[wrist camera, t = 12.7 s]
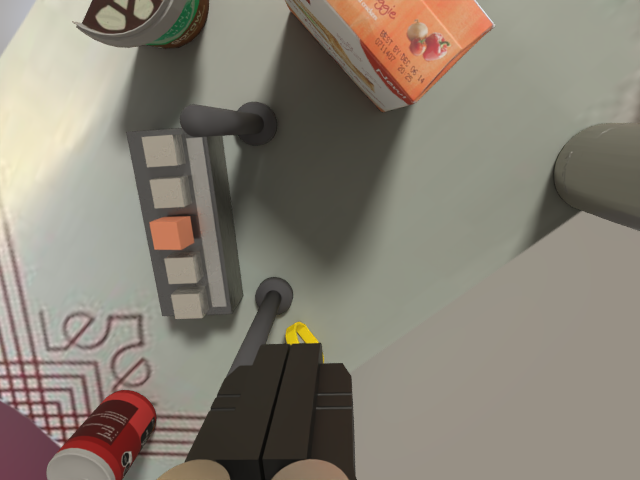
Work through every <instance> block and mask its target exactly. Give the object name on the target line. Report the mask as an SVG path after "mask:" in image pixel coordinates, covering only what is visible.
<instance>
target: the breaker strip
mask: <svg viewBox="0 0 640 480" xmlns="http://www.w3.org/2000/svg"><path fill="white" fill-rule="evenodd" d="M126 133H127V138H128V143H129V149H130V154H131V159H132V164H133V169H134V174H135V179H136V184H137V189H138V194H139V200H140V205H141V210H142V215H143V220H144V225H145V230H146V235H147V240H148V245H149V251H150V256H151V261H152V266H153V271H154V276H155V281H156V286H157V291H158V296H159V302H160V307H161V312H162V316H175V319H189V318H203V317H204V316H205V315H211V314H232V313H233V311H234V309H235V308H236V306H237V305H238V303H239V301H240V300H241V298H242V296H243V290H242V282H241V274H240V267H239V259H238V251H237V244H236V236H235V229H234V221H233V213H232V206H231V198H230V191H229V183H228V175H227V168H226V160H225V153H224V145H223V137H222V136H208V137H193V136H190V135H188V134H187V133H186V132H185V131H184V130H183V128H176V129H162V130H148V131H134V132H126ZM178 216H190V219H191V225H192V231H193V237H194V243H193V244H191V245H189V246H187V247H186V248H184V249H182V250H155V249H154V244H153V239H152V234H151V229H150V223H149V222H151V221H154V220H157V219H159V218H162V217H178Z"/></svg>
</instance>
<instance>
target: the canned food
mask: <svg viewBox="0 0 640 480" xmlns="http://www.w3.org/2000/svg"><path fill="white" fill-rule="evenodd" d="M155 423H156V413H155V410H154V407H153V406H152V404H151V403H150V402H149V400H148V399H147V398H145V397H144V396H143V395H141V394H139V393H137V392H134V391H130V390H121V391H117V392H115V393H113V394H111V395H109V396H108V397H107V398H106V399H105V400H104V401H103V402H102V403H101V404H100V405H99V406H98V407H97V409H96V410H95V411H94V412H93V413H92V414H91V415H90V416H89V417H88V419H87V420H86V421H85V422H84V423H83V424H82V425H81V426H80V427H79V429H78V430H77V431H76V432H75V433H74V434H73V435H72V436H71V437H70V439H69V440H68V441H67V442H66V443H65V444H64V445H63V446H62V447H61V449H60V450H59V451H58V452H57V453H56V455H55V456H54V457H53V458H52V460H51V461H50V462H49V464H48V466H47V478H48V480H122V479H123V478H124V476H125V474H126V473H127V471H128V470H129V468H130V466H131V465H132V463H133V462H134V460H135V459H136V457H137V455H138V454H139V452H140V451H141V449H142V447H143V446H144V444H145V443H146V441H147V440H148V438H149V436H150V435H151V433H152V431H153V430H154V427H155Z"/></svg>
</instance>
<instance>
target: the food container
mask: <svg viewBox="0 0 640 480" xmlns="http://www.w3.org/2000/svg"><path fill="white" fill-rule="evenodd" d="M208 10H209V0H92V2H91V5H90V7H89V9H88V11H87V13H86V16H85V18H84V20H83V22H82V23H78V22H74V21H72V22H73V23H74V24H76V25H77V26H76V27H77V28H78V29H79V30H81V31H82V32H83V33H85V34H86V35H88V36H89V37H91V38H93V39H94V40H97V41H99V42H101V43H104V44H106V45H111V46H115V47H125V48H130V47H138V46H142V45H150V46H155V47H159V48H164V49H166V48H179V47H181V46H183V45H185V44H187V43H189V42H191V41H192V40H193V39H194V38H195V37H196V36H197V35H198V34H199V33H200V32H201V30H202V28H203V27H204V24H205V22H206V19H207V16H208Z"/></svg>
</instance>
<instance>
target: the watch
mask: <svg viewBox="0 0 640 480" xmlns="http://www.w3.org/2000/svg"><path fill="white" fill-rule="evenodd" d="M296 331H297V332H298V334H299V335H300V336H301V338H302V339H303V340H304V341H305V343H319V342H318V341H317V339H316V338H315V337H314V336H313V334H312V333H311V332H310V331H309V329H308V328H307V327H306V325H305V324H303V323H301V322H297V323H295V324H293V325H291V326H290V327H288V328H287V329H286V335H285V336H286V341H287V344H291V345H292V344H296V343H299V341H298V338H297V334H296ZM323 364H324V356H323Z"/></svg>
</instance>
